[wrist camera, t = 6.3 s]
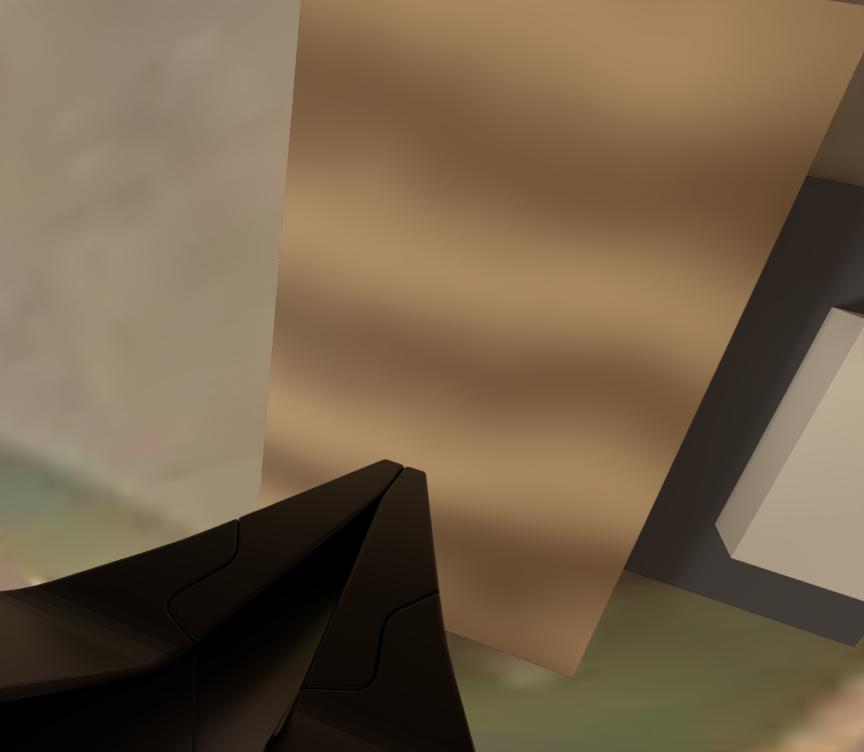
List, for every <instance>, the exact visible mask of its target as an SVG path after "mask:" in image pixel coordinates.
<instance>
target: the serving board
mask: <svg viewBox="0 0 864 752" xmlns="http://www.w3.org/2000/svg"><path fill="white" fill-rule="evenodd" d="M863 53H864V5H858V4H851V3H844V2H837V1H830V0H301V7H300V19H299V31H298V43H297V55H296V67H295V80H294V92H293V104H292V116H291V128H290V140H289V152H288V164H287V176H286V188H285V200H284V212H283V225H282V237H281V249H280V261H279V273H278V285H277V297H276V309H275V321H274V333H273V345H272V357H271V370H270V382H269V394H268V406H267V418H266V430H265V442H264V454H263V466H262V478H261V490H260V502H259V509H262V508H264V507H267V506H269V505H272V504H274V503H277V502H279V501H281V500H284V499H286V498H289V497H291V496H294V495H296V494H299V493H301V492H304V491H306V490H309V489H311V488H314V487H316V486H319V485H321V484H324V483H326V482H328V481H331V480H333V479H336V478H338V477H341V476H343V475H346V474H348V473H351V472H353V471H356V470H358V469H361V468H363V467H366V466H368V465H371V464H373V463H375V462H378V461H380V460H383V459H388V460H391V461H394V462H397V463H400V464H402V465H403V466H404V468H405V467H407V466H408V467H412V468H415V469H418V470H421V471H424V472H425V473H426V476H427V485H428V494H429V503H430V511H431V520H432V529H433V537H434V546H435V555H436V563H437V572H438V581H439V590H440V597H441V605H442V613H443V620H444V626H445V630H447V631H449V632H452V633H455V634H457V635H460V636H462V637H465V638H468V639H470V640H473V641H475V642H478V643H481V644H483V645H486V646H489V647H491V648H494V649H496V650H499V651H502V652H504V653H507V654H510V655H512V656H515V657H517V658H520V659H523V660H525V661H528V662H531V663H533V664H536V665H538V666H541V667H544V668H546V669H549V670H552V671H554V672H557V673H559V674H562V675H565V676H567V677H570V678H573V676H574V674H575V672H576V670H577V667H578V665H579V663H580V661H581V659H582V657H583V655H584V652H585V650H586V648H587V646H588V644H589V642H590V639H591V637H592V635H593V633H594V631H595V629H596V627H597V624H598V622H599V620H600V618H601V616H602V614H603V612H604V609H605V607H606V605H607V603H608V601H609V599H610V597H611V594H612V592H613V590H614V588H615V586H616V584H617V581H618V579H619V577H620V575H621V573H622V571H623V569H624V566H625V564H626V562H627V560H628V558H629V556H630V554H631V551H632V549H633V547H634V545H635V543H636V541H637V539H638V536H639V534H640V532H641V530H642V528H643V526H644V523H645V521H646V519H647V517H648V515H649V513H650V511H651V508H652V506H653V504H654V502H655V500H656V498H657V496H658V493H659V491H660V489H661V487H662V485H663V483H664V480H665V478H666V476H667V474H668V472H669V470H670V468H671V465H672V463H673V461H674V459H675V457H676V455H677V453H678V450H679V448H680V446H681V444H682V442H683V440H684V438H685V435H686V433H687V431H688V429H689V427H690V425H691V422H692V420H693V418H694V416H695V414H696V412H697V410H698V407H699V405H700V403H701V401H702V399H703V397H704V395H705V392H706V390H707V388H708V386H709V384H710V382H711V380H712V377H713V375H714V373H715V371H716V369H717V367H718V364H719V362H720V360H721V358H722V356H723V354H724V352H725V349H726V347H727V345H728V343H729V341H730V339H731V337H732V334H733V332H734V330H735V328H736V326H737V324H738V321H739V319H740V317H741V315H742V313H743V311H744V309H745V306H746V304H747V302H748V300H749V298H750V296H751V294H752V291H753V289H754V287H755V285H756V283H757V281H758V279H759V276H760V274H761V272H762V270H763V268H764V266H765V263H766V261H767V259H768V257H769V255H770V253H771V251H772V248H773V246H774V244H775V242H776V240H777V238H778V236H779V233H780V231H781V229H782V227H783V225H784V223H785V221H786V218H787V216H788V214H789V212H790V210H791V208H792V205H793V203H794V201H795V199H796V197H797V195H798V193H799V190H800V188H801V186H802V184H803V182H804V180H805V178H806V175H807V173H808V171H809V169H810V167H811V165H812V162H813V160H814V158H815V156H816V154H817V152H818V150H819V147H820V145H821V143H822V141H823V139H824V137H825V135H826V132H827V130H828V128H829V126H830V124H831V122H832V120H833V117H834V115H835V113H836V111H837V109H838V107H839V104H840V102H841V100H842V98H843V96H844V94H845V92H846V89H847V87H848V85H849V83H850V81H851V79H852V77H853V74H854V72H855V70H856V68H857V66H858V64H859V62H860V59H861V57H862V55H863Z"/></svg>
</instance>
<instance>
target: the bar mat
mask: <svg viewBox="0 0 864 752" xmlns="http://www.w3.org/2000/svg"><path fill="white" fill-rule="evenodd" d="M832 307H834V308H838V309H843V310H847V311H851V312H855V313H859V314H864V187H860V186H855V185H850V184H845V183H840V182H835V181H830V180H825V179H819V178H814V177H809V176H806V178H805V180H804V182H803V184H802V186H801V188H800V190H799V193H798V195H797V197H796V199H795V201H794V203H793V205H792V208H791V210H790V212H789V214H788V216H787V218H786V221H785V223H784V225H783V227H782V229H781V231H780V233H779V236H778V238H777V240H776V242H775V244H774V246H773V248H772V251H771V253H770V255H769V257H768V259H767V261H766V263H765V266H764V268H763V270H762V272H761V274H760V276H759V279H758V281H757V283H756V285H755V287H754V289H753V291H752V294H751V296H750V298H749V300H748V302H747V304H746V306H745V309H744V311H743V313H742V315H741V317H740V319H739V321H738V324H737V326H736V328H735V330H734V332H733V334H732V337H731V339H730V341H729V343H728V345H727V347H726V349H725V352H724V354H723V356H722V358H721V360H720V362H719V364H718V367H717V369H716V371H715V373H714V375H713V377H712V380H711V382H710V384H709V386H708V388H707V390H706V392H705V395H704V397H703V399H702V401H701V403H700V405H699V407H698V410H697V412H696V414H695V416H694V418H693V420H692V422H691V425H690V427H689V429H688V431H687V433H686V435H685V438H684V440H683V442H682V444H681V446H680V448H679V450H678V453H677V455H676V457H675V459H674V461H673V463H672V465H671V468H670V470H669V472H668V474H667V476H666V478H665V480H664V483H663V485H662V487H661V489H660V491H659V493H658V496H657V498H656V500H655V502H654V504H653V506H652V508H651V511H650V513H649V515H648V517H647V519H646V521H645V523H644V526H643V528H642V530H641V532H640V534H639V536H638V539H637V541H636V543H635V545H634V547H633V549H632V551H631V554H630V556H629V558H628V560H627V562H626V564H625V566H624V569H625V570H628V571H631V572H634V573H637V574H640V575H643V576H646V577H649V578H652V579H655V580H658V581H661V582H663V583H666V584H669V585H672V586H675V587H678V588H681V589H684V590H687V591H690V592H693V593H696V594H699V595H702V596H705V597H708V598H711V599H714V600H717V601H720V602H723V603H726V604H728V605H731V606H734V607H737V608H740V609H743V610H746V611H749V612H752V613H755V614H758V615H761V616H764V617H767V618H770V619H773V620H776V621H779V622H782V623H785V624H788V625H791V626H793V627H796V628H799V629H802V630H805V631H808V632H811V633H814V634H817V635H820V636H823V637H826V638H829V639H832V640H835V641H838V642H841V643H844V644H847V645H850V646H853V647H855V645H856V644H857V643H858V641H859V640H860V639H861V637H862V636H863V635H864V601H862V600H859V599H856V598H853V597H850V596H847V595H844V594H841V593H838V592H834V591H831V590H828V589H825V588H822V587H819V586H816V585H813V584H810V583H807V582H804V581H801V580H798V579H795V578H791V577H788V576H785V575H782V574H779V573H776V572H773V571H770V570H767V569H764V568H761V567H758V566H755V565H752V564H748V563H745V562H742V561H739V560H736V559H733V558H731V557H730V555H729V553H728V551H727V548H726V546H725V544H724V542H723V540H722V538H721V536H720V534H719V532H718V530H717V528H716V526H715V523H716V521H717V519H718V517H719V515H720V514H721V512H722V510H723V508H724V506H725V504H726V503H727V501H728V499H729V497H730V495H731V493H732V491H733V490H734V488H735V486H736V484H737V482H738V480H739V478H740V477H741V475H742V473H743V471H744V469H745V467H746V465H747V464H748V462H749V460H750V458H751V456H752V454H753V452H754V451H755V449H756V447H757V445H758V443H759V441H760V439H761V438H762V436H763V434H764V432H765V430H766V428H767V426H768V425H769V423H770V421H771V419H772V417H773V415H774V414H775V412H776V410H777V408H778V406H779V404H780V402H781V401H782V399H783V397H784V395H785V393H786V391H787V389H788V388H789V386H790V384H791V382H792V380H793V378H794V376H795V375H796V373H797V371H798V369H799V367H800V365H801V363H802V362H803V360H804V358H805V356H806V354H807V352H808V350H809V349H810V347H811V345H812V343H813V341H814V339H815V337H816V336H817V334H818V332H819V330H820V328H821V326H822V324H823V323H824V321H825V319H826V317H827V315H828V313H829V312H830V310H831V308H832Z"/></svg>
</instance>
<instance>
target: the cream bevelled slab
mask: <svg viewBox="0 0 864 752" xmlns="http://www.w3.org/2000/svg"><path fill="white" fill-rule="evenodd" d="M715 526H716V528H717V530H718V532H719V534H720V536H721V538H722V540H723V542H724V544H725V546H726V548H727V551H728V553H729V555H730V557H731V558H733V559H736V560H739V561H742V562H745V563H748V564H752V565H755V566H758V567H761V568H764V569H767V570H770V571H773V572H776V573H779V574H782V575H785V576H788V577H791V578H795V579H798V580H801V581H804V582H807V583H810V584H813V585H816V586H819V587H822V588H825V589H828V590H831V591H834V592H838V593H841V594H844V595H847V596H850V597H853V598H856V599H859V600H862V601H864V314H859V313H855V312H851V311H847V310H843V309H838V308H834V307H832V308H831V310H830V312H829V313H828V315H827V317H826V319H825V321H824V323H823V324H822V326H821V328H820V330H819V332H818V334H817V336H816V337H815V339H814V341H813V343H812V345H811V347H810V349H809V350H808V352H807V354H806V356H805V358H804V360H803V362H802V363H801V365H800V367H799V369H798V371H797V373H796V375H795V376H794V378H793V380H792V382H791V384H790V386H789V388H788V389H787V391H786V393H785V395H784V397H783V399H782V401H781V402H780V404H779V406H778V408H777V410H776V412H775V414H774V415H773V417H772V419H771V421H770V423H769V425H768V426H767V428H766V430H765V432H764V434H763V436H762V438H761V439H760V441H759V443H758V445H757V447H756V449H755V451H754V452H753V454H752V456H751V458H750V460H749V462H748V464H747V465H746V467H745V469H744V471H743V473H742V475H741V477H740V478H739V480H738V482H737V484H736V486H735V488H734V490H733V491H732V493H731V495H730V497H729V499H728V501H727V503H726V504H725V506H724V508H723V510H722V512H721V514H720V515H719V517H718V519H717V521H716V523H715Z"/></svg>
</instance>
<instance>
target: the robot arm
mask: <svg viewBox="0 0 864 752" xmlns="http://www.w3.org/2000/svg"><path fill="white" fill-rule="evenodd" d="M0 752H475V748H474V745H473V741H472V737H471V733H470V730H469V726H468V722H467V719H466V715H465V711H464V708H463V704H462V700H461V697H460V693H459V689H458V686H457V682H456V678H455V674H454V670H453V666H452V662H451V657H450V653H449V649H448V644H447V639H446V633H445V626H444V620H443V613H442V605H441V597H440V590H439V581H438V572H437V563H436V555H435V546H434V537H433V529H432V520H431V511H430V503H429V494H428V485H427V476H426V473H425V472H424V471H421V470H418V469H415V468H412V467H408V466H407V467H405V468H404V466H403V465H402V464H400V463H397V462H394V461H391V460H388V459H383V460H380V461H378V462H375V463H373V464H371V465H368V466H366V467H363V468H361V469H358V470H356V471H353V472H351V473H348V474H346V475H343V476H341V477H338V478H336V479H333V480H331V481H328V482H326V483H324V484H321V485H319V486H316V487H314V488H311V489H309V490H306V491H304V492H301V493H299V494H296V495H294V496H291V497H289V498H286V499H284V500H281V501H279V502H277V503H274V504H272V505H269V506H267V507H264V508H262V509H259V510H257V511H254V512H252V513H249V514H247V515H244V516H242V517H240V518H239V521H238V520H237V519H234V520H232V521H229V522H227V523H224V524H222V525H219V526H217V527H214V528H212V529H209V530H206V531H204V532H201V533H198V534H196V535H193V536H190V537H188V538H185V539H182V540H179V541H176V542H173V543H170V544H167V545H164V546H161V547H158V548H155V549H152V550H149V551H146V552H143V553H140V554H137V555H133V556H130V557H127V558H124V559H120V560H117V561H114V562H111V563H108V564H104V565H101V566H98V567H95V568H92V569H88V570H85V571H82V572H79V573H76V574H72V575H69V576H66V577H63V578H60V579H56V580H53V581H50V582H46V583H43V584H39V585H35V586H31V587H26V588H21V589H15V590H7V591H0Z"/></svg>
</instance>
